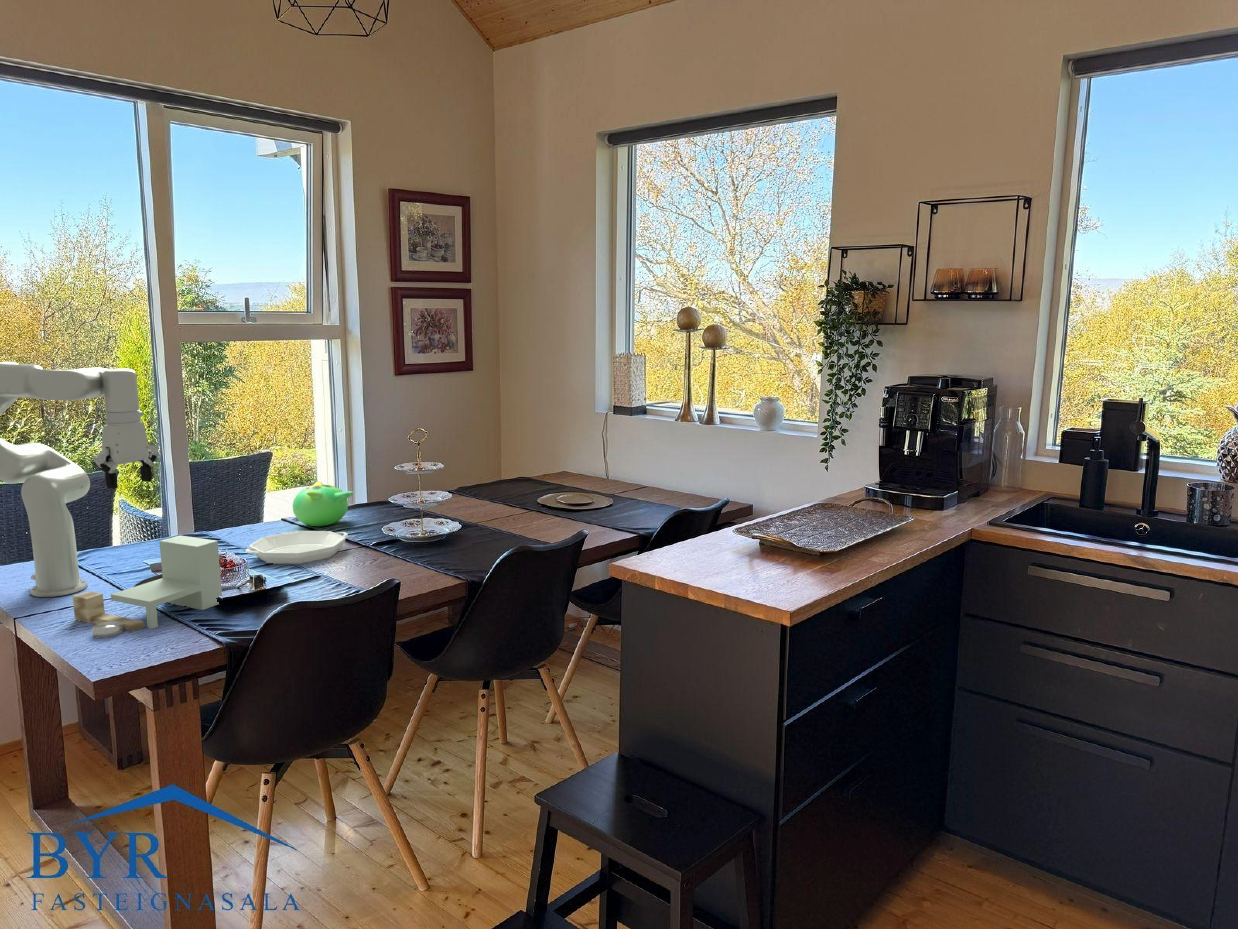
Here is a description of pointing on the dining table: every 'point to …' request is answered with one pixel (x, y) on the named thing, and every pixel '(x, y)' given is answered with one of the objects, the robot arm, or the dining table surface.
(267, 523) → the dining table surface
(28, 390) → the robot arm
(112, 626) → the steel token
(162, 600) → the pale green shelf block
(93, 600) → the wooden mallet tool
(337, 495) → the green teapot
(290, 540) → the pan
